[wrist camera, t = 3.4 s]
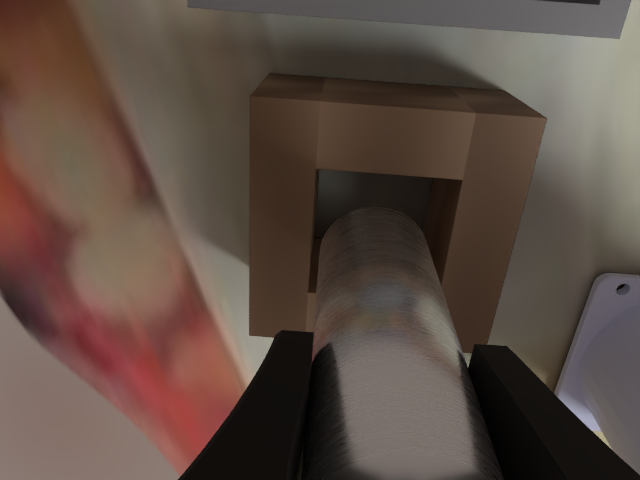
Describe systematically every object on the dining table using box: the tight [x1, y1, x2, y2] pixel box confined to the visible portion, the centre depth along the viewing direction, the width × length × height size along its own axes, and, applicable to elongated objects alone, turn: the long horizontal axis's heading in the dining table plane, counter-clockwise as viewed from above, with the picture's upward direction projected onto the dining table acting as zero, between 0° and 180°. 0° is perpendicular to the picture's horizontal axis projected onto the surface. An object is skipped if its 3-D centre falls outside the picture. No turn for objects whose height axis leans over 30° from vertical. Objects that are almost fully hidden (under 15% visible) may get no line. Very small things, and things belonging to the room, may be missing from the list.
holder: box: [249, 73, 547, 353], centre depth 17 cm, size 8×8×4 cm
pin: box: [301, 206, 504, 480], centre depth 11 cm, size 3×3×8 cm
